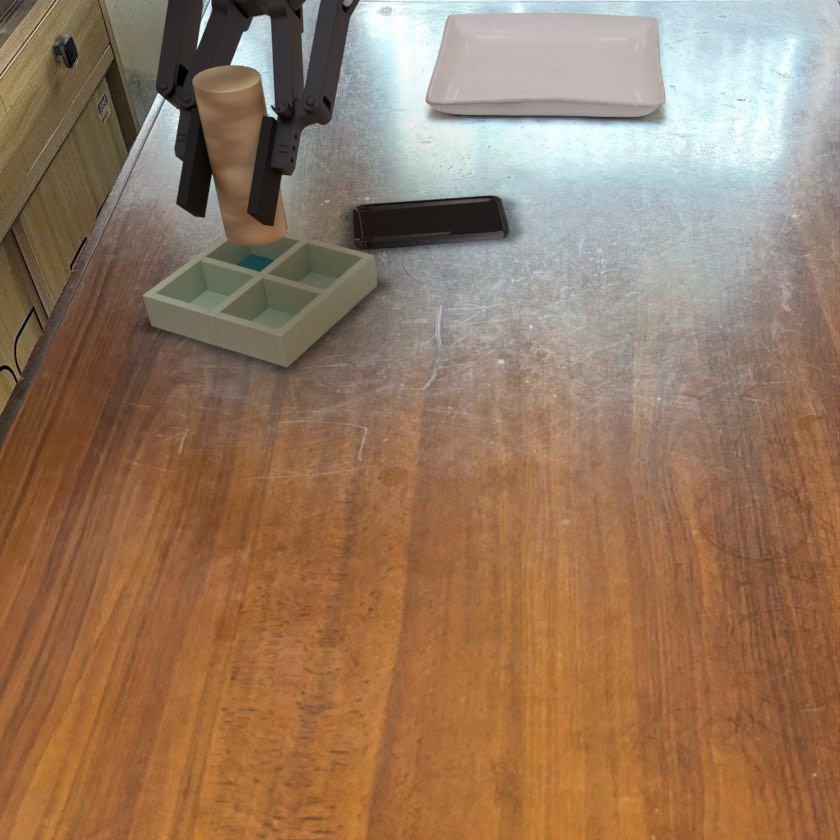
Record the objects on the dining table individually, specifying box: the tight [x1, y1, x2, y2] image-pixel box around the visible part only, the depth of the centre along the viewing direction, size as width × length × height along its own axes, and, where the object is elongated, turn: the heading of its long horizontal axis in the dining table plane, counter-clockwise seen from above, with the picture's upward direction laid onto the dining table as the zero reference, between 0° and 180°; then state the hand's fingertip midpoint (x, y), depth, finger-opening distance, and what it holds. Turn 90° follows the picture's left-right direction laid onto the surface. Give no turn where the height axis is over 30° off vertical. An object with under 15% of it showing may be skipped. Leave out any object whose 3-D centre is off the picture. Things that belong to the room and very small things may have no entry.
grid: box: [142, 232, 379, 368], centre depth 98 cm, size 14×14×4 cm
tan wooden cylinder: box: [192, 64, 288, 246], centre depth 76 cm, size 4×4×11 cm
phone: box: [352, 194, 510, 250], centre depth 109 cm, size 8×1×15 cm
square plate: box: [425, 12, 667, 118], centre depth 135 cm, size 27×27×4 cm
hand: (225, 214), depth 75 cm, fingers closed on tan wooden cylinder, 4 cm apart
